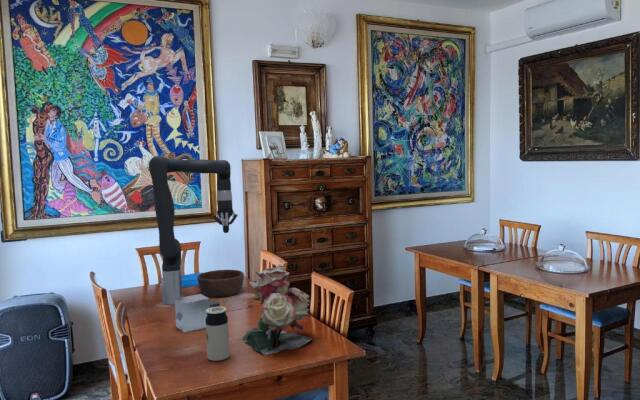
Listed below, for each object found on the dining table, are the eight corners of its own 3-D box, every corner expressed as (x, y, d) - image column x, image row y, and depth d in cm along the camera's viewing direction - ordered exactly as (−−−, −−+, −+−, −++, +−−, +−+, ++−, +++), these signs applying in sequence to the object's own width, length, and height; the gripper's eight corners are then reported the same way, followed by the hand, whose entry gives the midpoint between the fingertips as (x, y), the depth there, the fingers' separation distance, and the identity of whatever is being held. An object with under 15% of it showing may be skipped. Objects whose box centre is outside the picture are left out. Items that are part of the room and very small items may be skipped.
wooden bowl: (194, 291, 289) (193, 272, 288) (237, 285, 300) (236, 267, 299) (203, 301, 267) (202, 282, 266) (250, 294, 277) (249, 276, 276)
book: (161, 278, 308) (202, 271, 320) (161, 285, 308) (202, 278, 320) (168, 283, 293) (210, 276, 305) (168, 291, 293) (211, 284, 306)
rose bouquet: (268, 360, 187) (264, 278, 184) (235, 337, 211) (232, 265, 209) (327, 344, 200) (325, 268, 198) (290, 325, 225) (288, 256, 222)
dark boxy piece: (180, 330, 220) (178, 311, 220) (175, 327, 225) (174, 308, 225) (220, 321, 231) (219, 303, 230) (215, 318, 236) (214, 300, 235)
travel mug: (230, 352, 195) (228, 305, 193) (227, 361, 187) (225, 312, 185) (209, 353, 195) (207, 306, 193) (205, 362, 187) (203, 313, 185)
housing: (184, 332, 219) (182, 303, 218) (176, 326, 228) (174, 298, 227) (210, 326, 226) (209, 298, 225) (202, 321, 234) (200, 293, 233)
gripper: (209, 200, 261) (211, 234, 262) (235, 199, 260) (237, 233, 261) (214, 198, 268) (215, 232, 270) (239, 198, 267) (240, 231, 269)
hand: (226, 232), depth 266 cm, fingers closed
